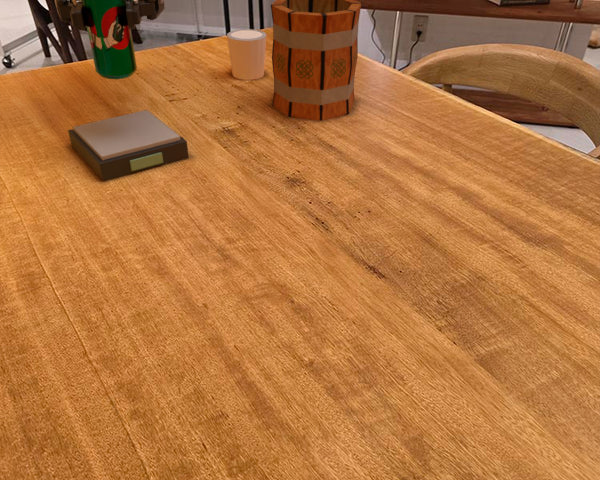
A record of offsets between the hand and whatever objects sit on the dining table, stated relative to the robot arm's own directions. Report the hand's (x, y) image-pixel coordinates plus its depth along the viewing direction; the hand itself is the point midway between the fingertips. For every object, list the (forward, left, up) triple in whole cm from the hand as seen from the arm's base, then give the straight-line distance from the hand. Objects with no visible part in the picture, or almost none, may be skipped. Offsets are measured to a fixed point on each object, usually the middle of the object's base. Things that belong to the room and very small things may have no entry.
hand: (105, 20), depth 68 cm
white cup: (+31, +20, -18) cm, 41 cm away
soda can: (+1, +2, -7) cm, 8 cm away
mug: (+34, +5, -18) cm, 38 cm away
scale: (+1, +2, -18) cm, 18 cm away
